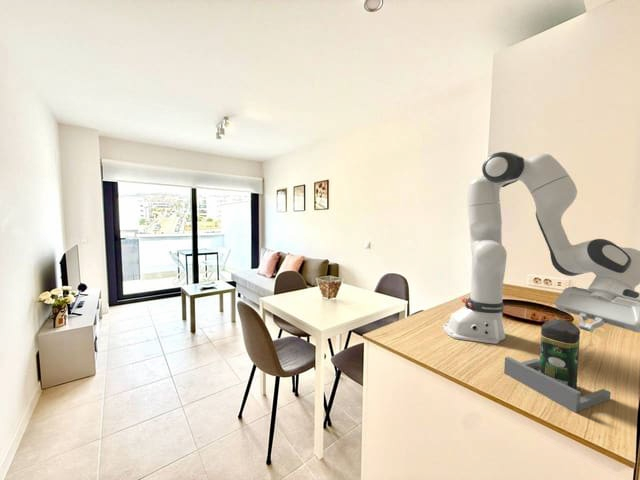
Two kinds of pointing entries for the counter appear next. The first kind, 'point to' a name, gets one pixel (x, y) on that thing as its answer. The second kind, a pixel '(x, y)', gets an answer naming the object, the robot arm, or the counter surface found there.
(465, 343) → the counter surface
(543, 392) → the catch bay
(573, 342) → the coffee jar
